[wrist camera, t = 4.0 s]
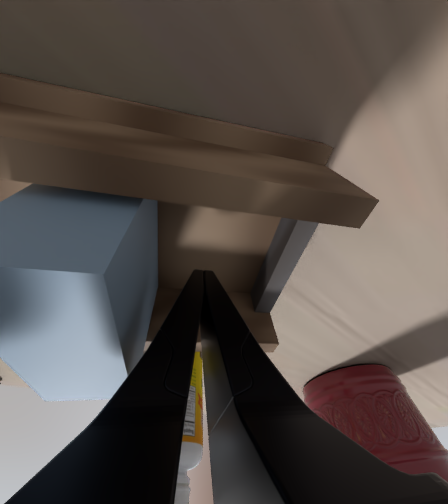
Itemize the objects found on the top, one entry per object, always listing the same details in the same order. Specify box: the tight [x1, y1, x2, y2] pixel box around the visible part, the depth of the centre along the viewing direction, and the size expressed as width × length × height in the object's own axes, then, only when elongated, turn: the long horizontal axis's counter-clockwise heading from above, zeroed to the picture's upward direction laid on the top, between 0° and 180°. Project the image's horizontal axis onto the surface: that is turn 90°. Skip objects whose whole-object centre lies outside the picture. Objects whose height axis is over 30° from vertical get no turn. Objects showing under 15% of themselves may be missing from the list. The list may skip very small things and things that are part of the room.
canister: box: [303, 364, 448, 482], centre depth 23 cm, size 13×13×18 cm
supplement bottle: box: [143, 351, 203, 504], centre depth 15 cm, size 6×6×10 cm
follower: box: [0, 183, 158, 401], centre depth 8 cm, size 3×7×6 cm, turn 169°
